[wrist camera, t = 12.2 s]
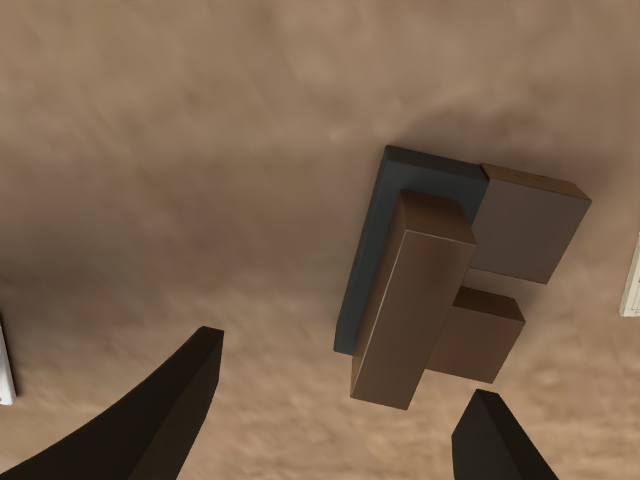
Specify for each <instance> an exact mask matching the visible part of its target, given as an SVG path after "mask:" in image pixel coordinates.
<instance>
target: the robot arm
mask: <svg viewBox="0 0 640 480" xmlns="http://www.w3.org/2000/svg"><path fill="white" fill-rule="evenodd" d="M223 338H224V331H223V330H219V329H215V328H210V327H206V326H202V327H200V328H199V329H198V330H197V331H196V332H195V333H194V334H193V335H192V336H191V337H190V338H189V339H188V340H187V341H186V342H185V343H184V344H183V345H182V346H181V347H180V348H179V349H178V350H177V351H176V352H175V353H174V354H173V355H172V356H171V357H170V358H169V359H167V360H166V361H165V362H164V363H163V364H162V365H161V366H160V367H158V368H157V369H156V370H155V371H154V372H153V373H152V374H151V375H149V376H148V377H147V378H146V379H145V380H144V381H142V382H141V383H140V384H139V385H137V386H136V387H135V388H134V389H132V390H131V391H130V392H129V393H127V394H126V395H125V396H124V397H122V398H121V399H120V400H119V401H117V402H116V403H115V404H113V405H112V406H110V407H109V408H108V409H106V410H105V411H104V412H102V413H101V414H99V415H98V416H97V417H95V418H94V419H92V420H91V421H89V422H88V423H86V424H85V425H83V426H82V427H80V428H79V429H77V430H76V431H74V432H72V433H71V434H69V435H68V436H66V437H65V438H63V439H61V440H60V441H58V442H57V443H55V444H53V445H52V446H50V447H48V448H47V449H45V450H43V451H42V452H40V453H38V454H37V455H35V456H33V457H31V458H29V459H27V460H26V461H24V462H22V463H20V464H18V465H16V466H15V467H13V468H11V469H9V470H7V471H5V472H3V473H2V474H0V480H176V478H177V476H178V474H179V472H180V470H181V468H182V466H183V464H184V462H185V460H186V458H187V456H188V454H189V451H190V449H191V447H192V445H193V443H194V441H195V439H196V437H197V435H198V433H199V430H200V428H201V426H202V424H203V422H204V420H205V418H206V415H207V413H208V410H209V407H210V404H211V402H212V399H213V396H214V393H215V390H216V387H217V384H218V380H219V371H220V363H221V355H222V346H223ZM15 400H16V394H15V389H14V384H13V380H12V375H11V370H10V366H9V361H8V356H7V352H6V347H5V342H4V338H3V333H2V328H1V324H0V404H5V405H11V404H13V402H14V401H15ZM452 457H453V470H454V478H455V480H559V479H558V478H557V476H556V475H555V474H554V472H553V471H552V470H551V468H550V467H549V466H548V464H547V463H546V461H545V460H544V459H543V457H542V456H541V454H540V453H539V452H538V450H537V449H536V447H535V446H534V445H533V443H532V442H531V440H530V439H529V437H528V436H527V434H526V433H525V432H524V430H523V429H522V427H521V426H520V424H519V423H518V421H517V420H516V418H515V417H514V415H513V414H512V413H511V411H510V410H509V408H508V407H507V405H506V404H505V402H504V401H503V400H502V398H501V397H500V395H499V394H498V393H494V392H489V391H485V390H481V389H476V391H475V393H474V394H473V396H472V398H471V400H470V402H469V404H468V406H467V408H466V409H465V411H464V413H463V415H462V417H461V419H460V421H459V423H458V424H457V426H456V428H455V430H454V432H453V434H452Z"/></svg>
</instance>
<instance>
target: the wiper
mask: <svg viewBox="0 0 640 480" xmlns="http://www.w3.org/2000/svg"><path fill="white" fill-rule="evenodd" d="M488 185H489V181H488V180H487V178H486V177H485V175H484V173H483V172H482V170H481V169H480V167H479V166H478V165H473V164H469V163H465V162H460V161H456V160H451V159H447V158H442V157H438V156H433V155H429V154H424V153H420V152H416V151H411V150H407V149H402V148H398V147H393V146H389V145H387V146H386V147H385V150H384V154H383V158H382V161H381V165H380V169H379V172H378V176H377V179H376V183H375V187H374V190H373V194H372V198H371V201H370V205H369V209H368V212H367V216H366V220H365V223H364V227H363V230H362V234H361V238H360V241H359V245H358V249H357V252H356V256H355V260H354V263H353V267H352V271H351V274H350V278H349V281H348V285H347V289H346V292H345V296H344V300H343V303H342V307H341V311H340V314H339V318H338V322H337V325H336V333H335V341H334V349H333V350H334V351H335V352H339V353H343V354H348V355H352V356H353V359H352V374H351V389H350V397H351V398H354V399H358V400H363V401H367V402H372V403H376V404H380V405H385V406H389V407H393V408H398V409H402V410H407V409H408V407H409V404H410V402H411V400H412V397H413V395H414V393H415V390H416V388H417V386H418V383H419V381H420V379H421V376H422V374H423V372H424V369H425V367H426V365H427V362H428V360H429V358H430V355H431V353H432V351H433V349H434V346H435V344H436V342H437V339H438V337H439V335H440V332H441V330H442V328H443V325H444V323H445V321H446V318H447V316H448V314H449V311H450V309H451V307H452V304H453V302H454V300H455V297H456V295H457V293H458V291H459V288H460V286H461V284H462V281H463V279H464V277H465V274H466V272H467V270H468V267H469V265H470V263H471V260H472V258H473V256H474V253H475V251H476V249H477V246H478V244H477V242H476V239H475V237H474V234H473V232H472V230H471V226H472V224H473V221H474V219H475V217H476V214H477V212H478V209H479V207H480V204H481V202H482V200H483V197H484V195H485V192H486V190H487V187H488Z"/></svg>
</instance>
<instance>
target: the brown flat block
mask: <svg viewBox="0 0 640 480" xmlns="http://www.w3.org/2000/svg"><path fill="white" fill-rule="evenodd" d="M479 167H480V169H481V170H482V172H483V173H484V175H485V177H486V178H487V180H488V181H489V185H488V187H487V190H486V192H485V195H484V197H483V200H482V202H481V204H480V207H479V209H478V212H477V214H476V217H475V219H474V221H473V224H472V226H471V230H472V232H473V234H474V237H475V239H476V242H477V244H478V246H477V249H476V251H475V253H474V256H473V258H472V260H471V263H470V265H469V267H470V268H475V269H479V270H484V271H488V272H493V273H497V274H501V275H506V276H510V277H515V278H519V279H524V280H528V281H533V282H537V283H541V284H547V283H548V281H549V279H550V278H551V276H552V274H553V272H554V270H555V268H556V267H557V265H558V263H559V261H560V259H561V257H562V256H563V254H564V252H565V250H566V248H567V246H568V245H569V243H570V241H571V239H572V237H573V236H574V234H575V232H576V230H577V228H578V226H579V225H580V223H581V221H582V219H583V217H584V215H585V214H586V212H587V210H588V208H589V206H590V204H591V203H592V200H591V199H590V198H589V197H588V196H587V195H586V194H585V193H583V192H582V191H581V190H580V189H579V188H578V187H577V186H576V185H575V184H573V183H568V182H564V181H559V180H555V179H550V178H546V177H541V176H537V175H532V174H528V173H523V172H519V171H515V170H510V169H506V168H501V167H497V166H492V165H488V164H483V163H481V164H480V166H479Z"/></svg>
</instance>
